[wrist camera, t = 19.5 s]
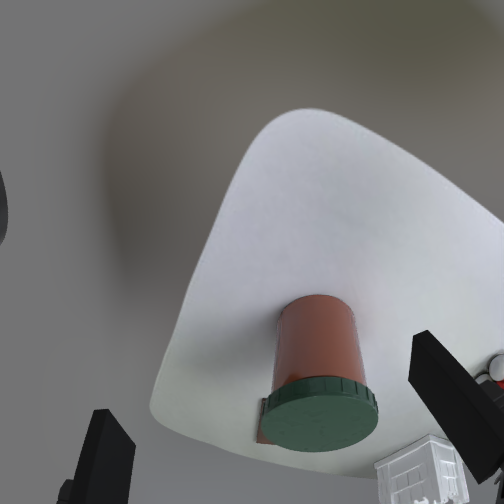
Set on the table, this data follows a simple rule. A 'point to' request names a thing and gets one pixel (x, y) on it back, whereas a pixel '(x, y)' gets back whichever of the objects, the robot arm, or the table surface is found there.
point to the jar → (317, 342)
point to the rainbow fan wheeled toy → (494, 372)
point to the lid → (319, 414)
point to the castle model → (422, 474)
